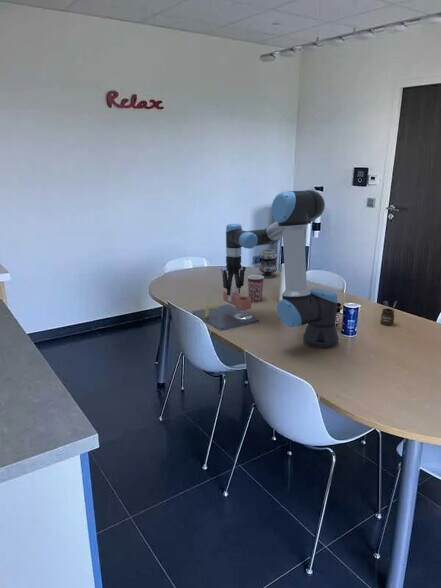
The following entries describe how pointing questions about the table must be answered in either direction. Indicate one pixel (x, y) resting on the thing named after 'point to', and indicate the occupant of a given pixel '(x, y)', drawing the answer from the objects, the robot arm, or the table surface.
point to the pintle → (243, 313)
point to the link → (238, 301)
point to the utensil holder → (387, 316)
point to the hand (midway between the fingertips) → (233, 300)
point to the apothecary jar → (268, 263)
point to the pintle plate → (225, 317)
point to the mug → (255, 287)
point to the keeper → (209, 306)
